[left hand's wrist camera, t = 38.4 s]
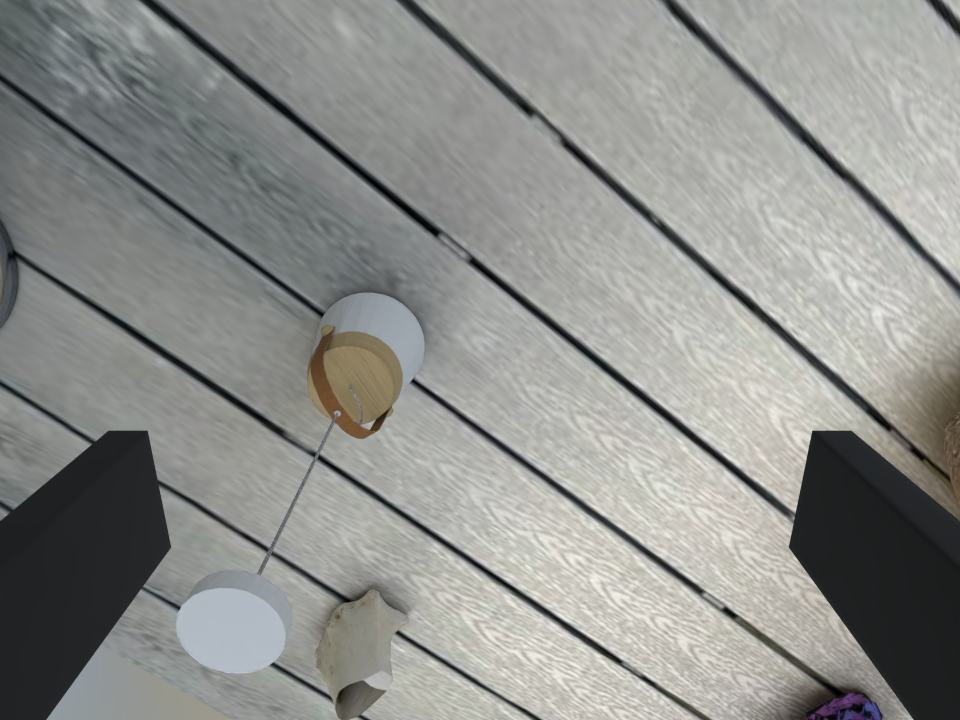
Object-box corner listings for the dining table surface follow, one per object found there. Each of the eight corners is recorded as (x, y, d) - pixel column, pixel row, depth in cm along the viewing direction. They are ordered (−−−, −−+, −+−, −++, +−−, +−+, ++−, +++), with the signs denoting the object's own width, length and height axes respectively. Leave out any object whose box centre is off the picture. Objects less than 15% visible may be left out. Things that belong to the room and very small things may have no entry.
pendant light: (446, 357, 50) (402, 663, 22) (359, 407, 51) (214, 754, 23) (386, 269, 47) (250, 484, 19) (297, 324, 49) (51, 599, 21)
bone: (376, 567, 59) (331, 609, 50) (433, 628, 58) (398, 683, 49) (314, 631, 61) (258, 684, 51) (368, 691, 60) (322, 757, 50)
